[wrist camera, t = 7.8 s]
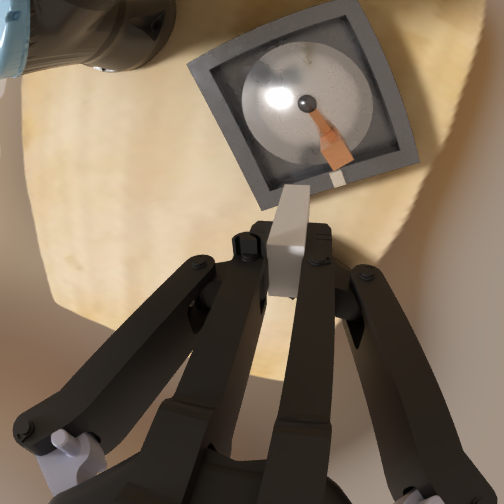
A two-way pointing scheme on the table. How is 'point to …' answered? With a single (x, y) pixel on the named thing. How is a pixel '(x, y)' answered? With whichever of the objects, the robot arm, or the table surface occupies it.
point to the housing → (333, 35)
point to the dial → (307, 104)
